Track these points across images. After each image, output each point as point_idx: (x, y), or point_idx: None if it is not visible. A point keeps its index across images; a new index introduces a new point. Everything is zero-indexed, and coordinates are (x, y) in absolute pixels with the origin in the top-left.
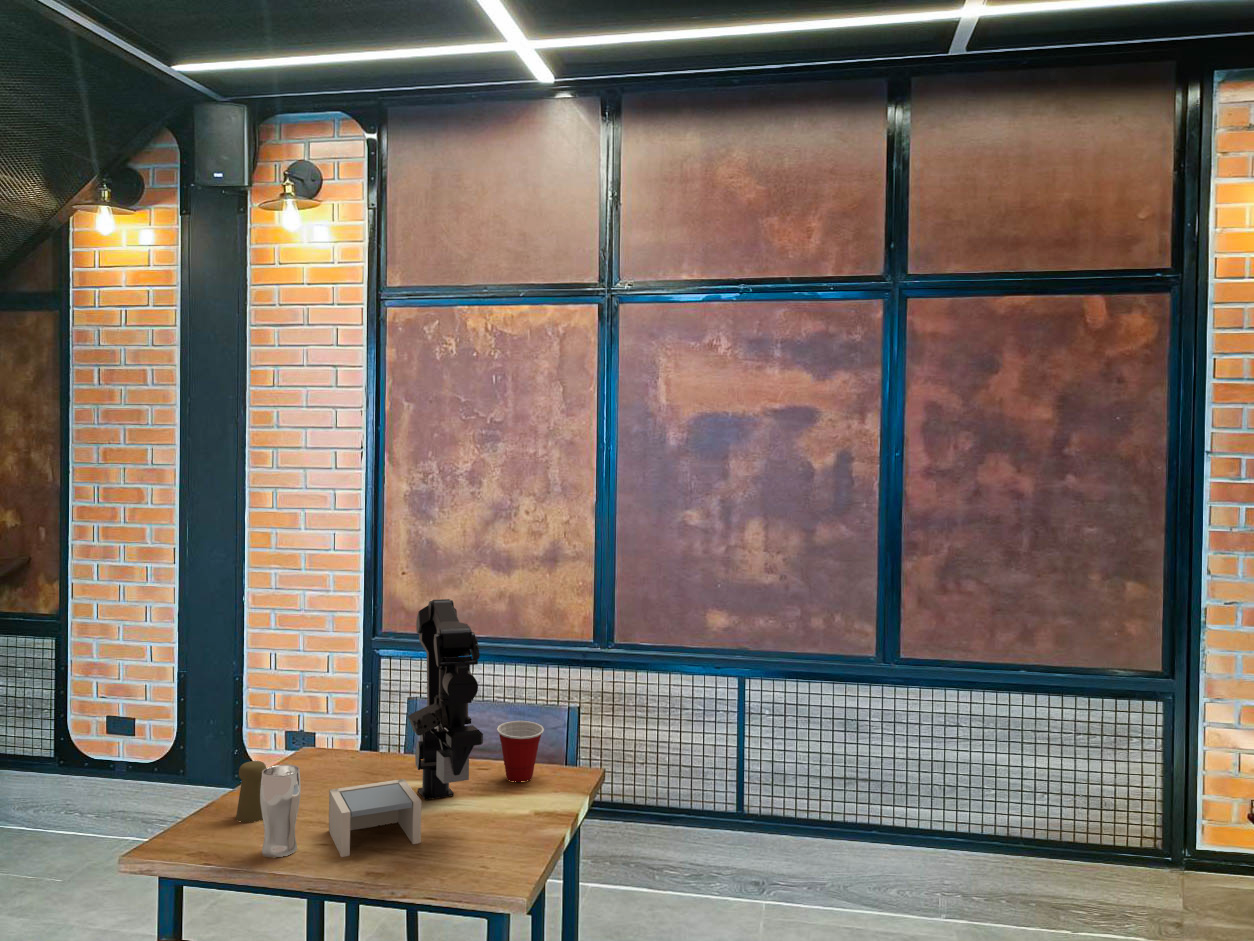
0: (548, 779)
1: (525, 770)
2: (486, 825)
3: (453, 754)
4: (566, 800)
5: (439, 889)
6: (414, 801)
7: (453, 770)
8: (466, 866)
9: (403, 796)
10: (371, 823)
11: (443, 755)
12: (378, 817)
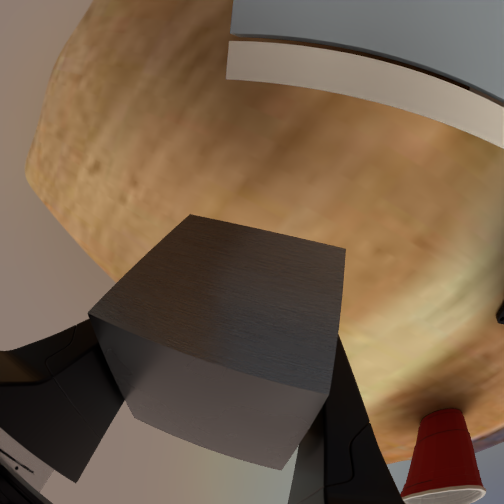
0: (399, 437)
1: (419, 438)
2: None
3: (33, 346)
4: None
5: (56, 68)
6: (233, 47)
7: None
8: (105, 137)
9: (337, 24)
10: None
11: (138, 343)
12: None
